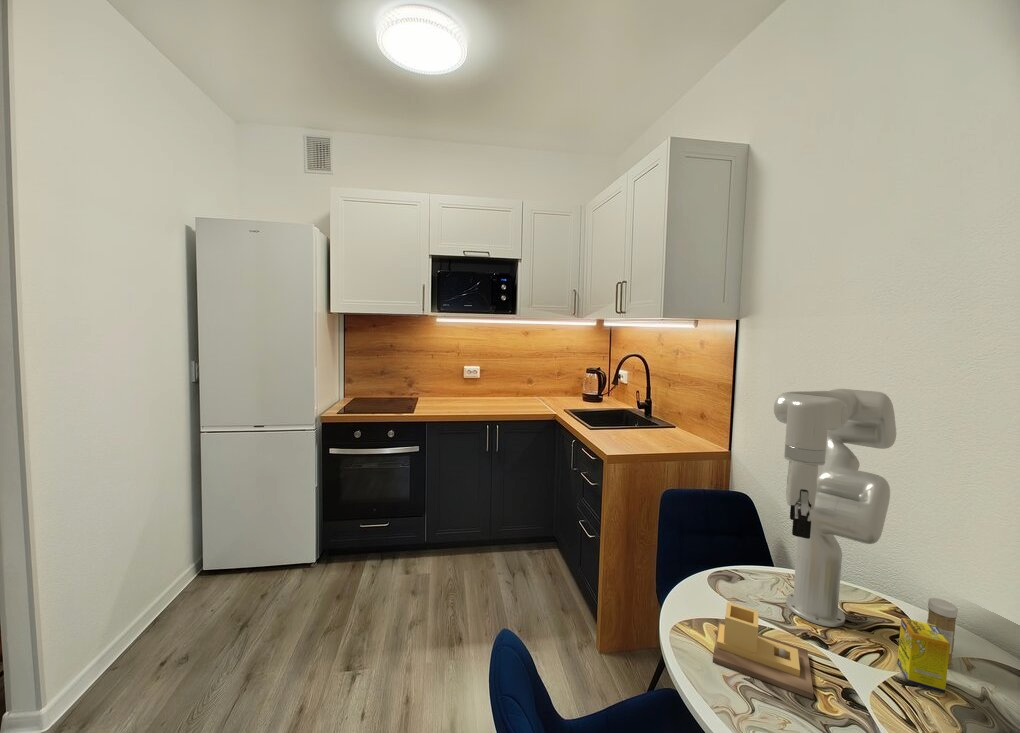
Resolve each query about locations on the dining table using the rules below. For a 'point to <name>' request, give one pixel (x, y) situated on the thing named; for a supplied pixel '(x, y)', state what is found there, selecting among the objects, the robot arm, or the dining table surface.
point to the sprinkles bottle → (943, 620)
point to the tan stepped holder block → (753, 641)
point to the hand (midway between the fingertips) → (799, 528)
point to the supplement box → (923, 655)
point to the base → (769, 668)
